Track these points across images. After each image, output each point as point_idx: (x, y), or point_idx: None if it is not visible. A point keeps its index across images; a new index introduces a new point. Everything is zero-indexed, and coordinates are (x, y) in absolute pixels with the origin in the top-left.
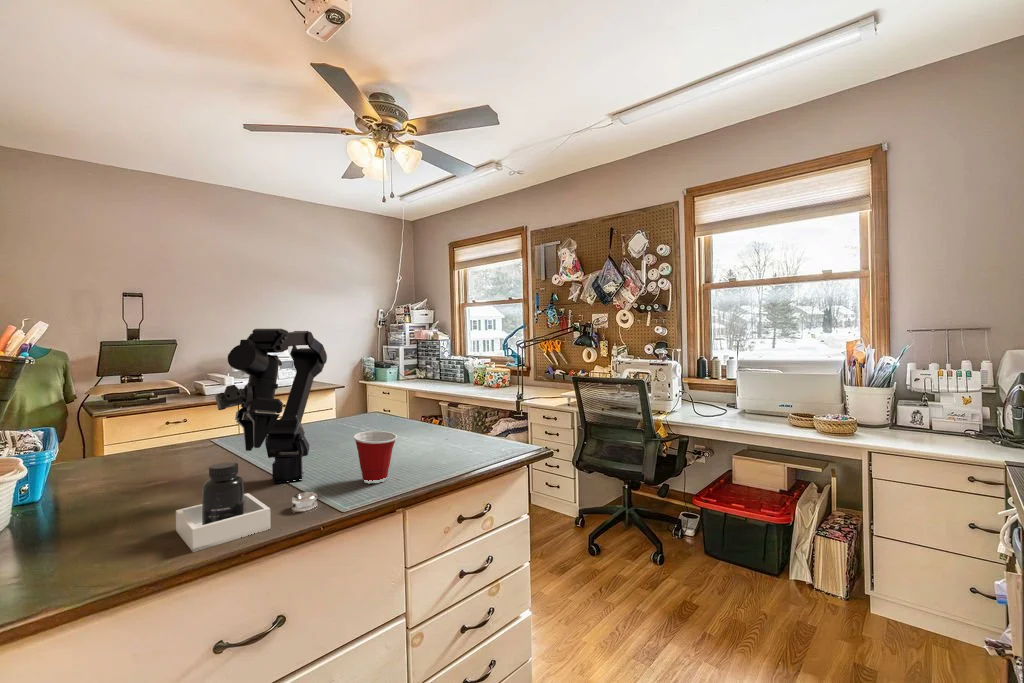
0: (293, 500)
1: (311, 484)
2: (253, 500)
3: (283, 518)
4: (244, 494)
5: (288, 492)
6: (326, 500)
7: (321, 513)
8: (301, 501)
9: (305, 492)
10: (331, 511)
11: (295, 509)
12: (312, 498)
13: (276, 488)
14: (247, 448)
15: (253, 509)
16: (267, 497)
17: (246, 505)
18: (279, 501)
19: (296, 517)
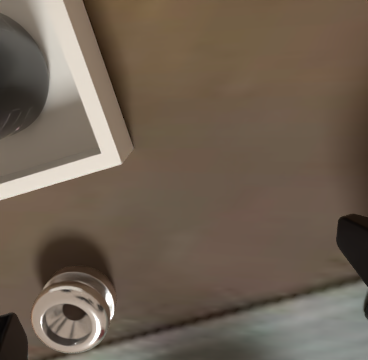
0: (51, 289)
1: (306, 336)
2: (14, 180)
3: (22, 239)
4: (109, 150)
5: (265, 269)
6: (119, 353)
7: None
8: (31, 308)
9: (95, 330)
10: None
11: (51, 277)
12: (39, 338)
13: None
14: (350, 230)
15: (27, 171)
16: (252, 207)
17: (98, 149)
18: (186, 239)
19: (14, 270)
